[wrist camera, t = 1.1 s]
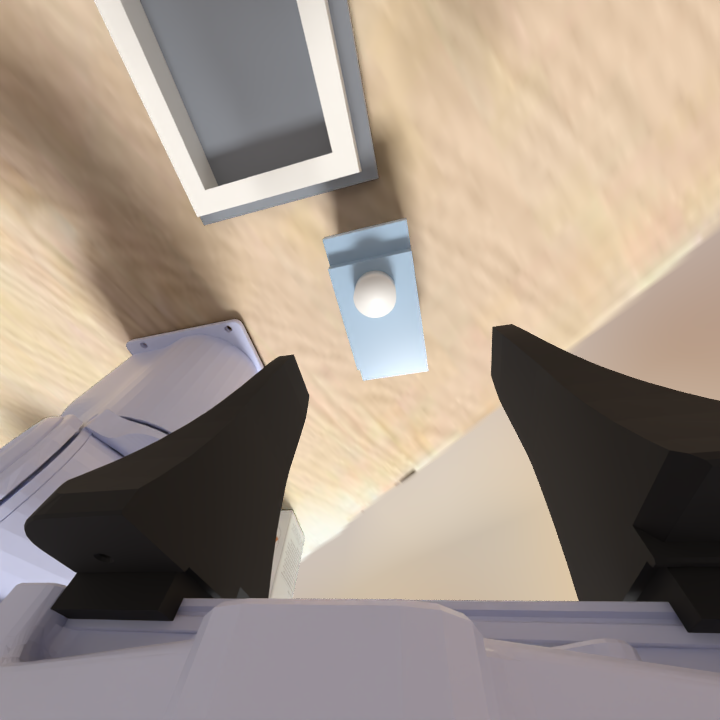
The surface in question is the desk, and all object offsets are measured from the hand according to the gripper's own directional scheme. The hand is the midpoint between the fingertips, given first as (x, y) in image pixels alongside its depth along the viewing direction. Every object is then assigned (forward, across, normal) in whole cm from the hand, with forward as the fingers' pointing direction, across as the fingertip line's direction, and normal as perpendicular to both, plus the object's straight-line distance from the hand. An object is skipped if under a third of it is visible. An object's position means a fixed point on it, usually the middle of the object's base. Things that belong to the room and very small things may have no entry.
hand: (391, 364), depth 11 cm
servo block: (+10, +1, 0) cm, 10 cm away
